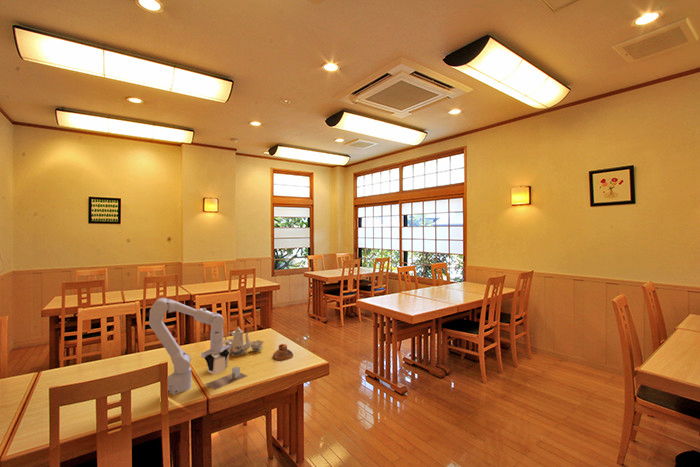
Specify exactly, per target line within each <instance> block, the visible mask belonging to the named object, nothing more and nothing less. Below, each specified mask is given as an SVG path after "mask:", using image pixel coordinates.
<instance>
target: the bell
mask: <svg viewBox="0 0 700 467" xmlns="http://www.w3.org/2000/svg"><path fill="white" fill-rule="evenodd" d="M293 356H294V354H293V352H292V350H290V349H288V344H286V343H281V344H279V345H278V349H277V350H276V351H274V352H273V355H272V359H273V360H275V361H286V359H287V360H289V358H290V359H291V358H293Z"/></svg>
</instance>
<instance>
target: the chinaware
mask: <svg viewBox="0 0 700 467" xmlns="http://www.w3.org/2000/svg"><path fill="white" fill-rule="evenodd" d="M249 333H250V331H246V332H245V335H244V330H242V329H241V328H240V327H239V326H237V328H236V329H235V330H233V331H231V332H227V333H226V334H225V335H224V336H225V338H224V339H225V340H223V344H224V346H226V345H231V350H230V353H229V354H230V355H231V356H233V357H239V355H240V356H243V355H245V354H246V351H248V350H249V349H252V350H253V352H255V351H257V352H260V351H262V350H263V349H264V348H263V345H264V342H265V341H263V340H260V339H259V340H258V339H257V340H256V341H255V340H251V341H250V338H249ZM229 334H230V336H231V337H233V338H229V339H228V338H227V337H228V335H229ZM243 336H244V337H245V341H244V337H243Z"/></svg>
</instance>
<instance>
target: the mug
mask: <svg viewBox="0 0 700 467" xmlns="http://www.w3.org/2000/svg"><path fill="white" fill-rule="evenodd" d="M228 351H229V354H228V356H227V358H226V361H225V369H227V367H228V364H229V360H230V359H229V358H230V354H231V353H230V350H228ZM216 355H220V354H219V353H216V354H213V355H212V357H213V356H216ZM206 365H207V367H208V364H207V363H206Z"/></svg>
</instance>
